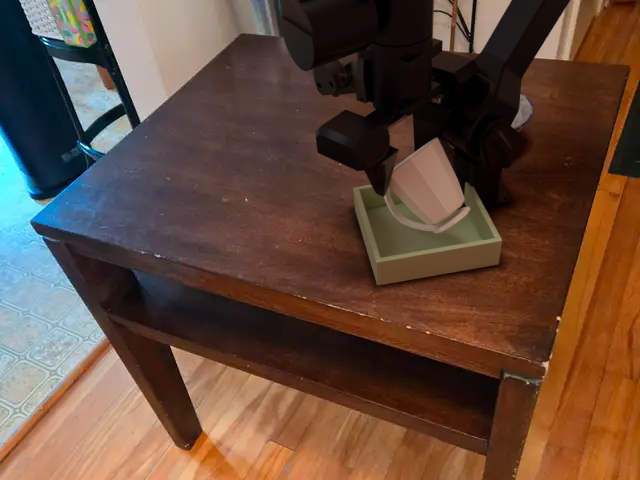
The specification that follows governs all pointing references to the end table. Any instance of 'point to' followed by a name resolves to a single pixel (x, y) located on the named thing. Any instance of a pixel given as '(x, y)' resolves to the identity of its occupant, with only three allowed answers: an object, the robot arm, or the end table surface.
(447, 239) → the tray
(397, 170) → the cup
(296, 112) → the end table surface
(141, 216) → the end table surface
